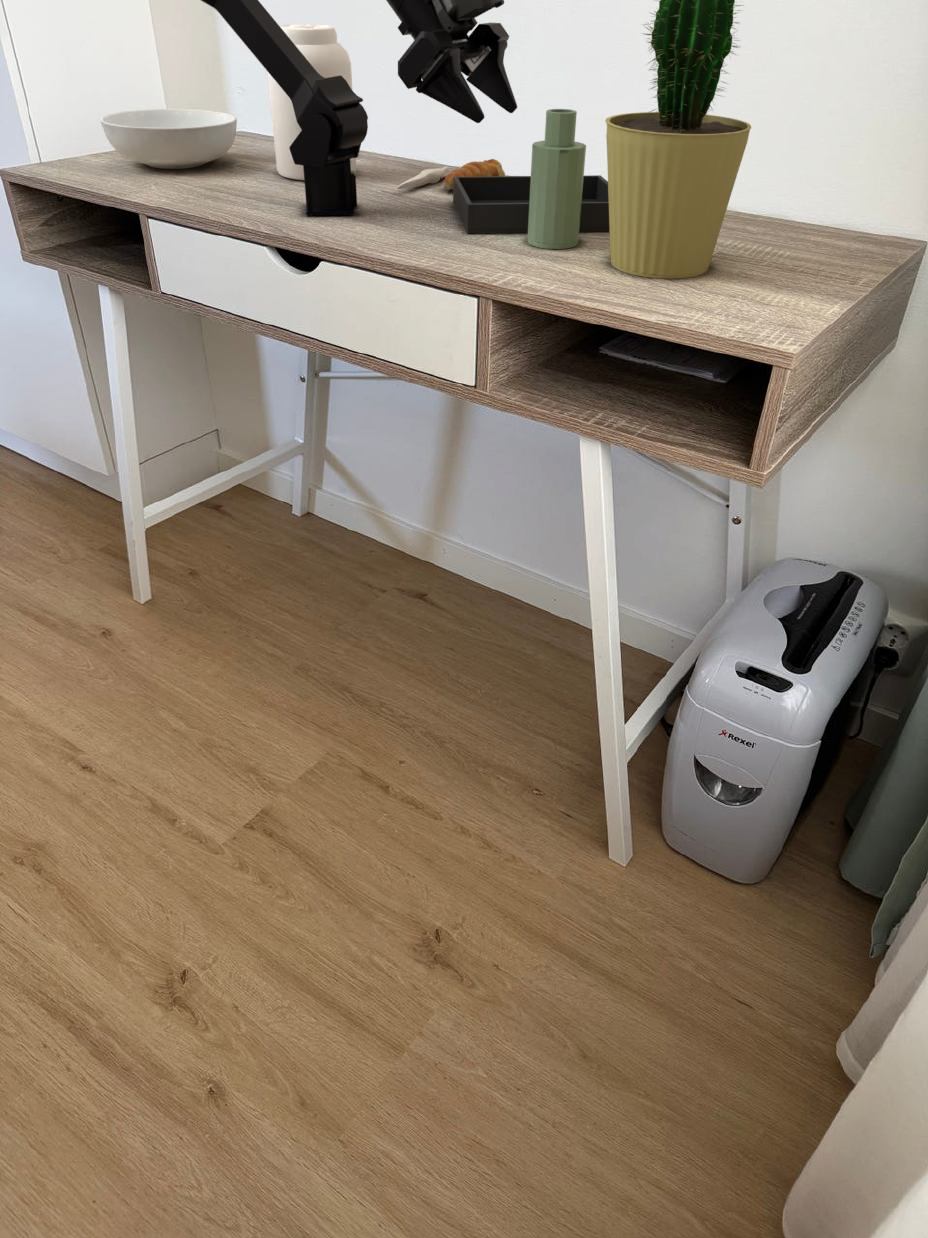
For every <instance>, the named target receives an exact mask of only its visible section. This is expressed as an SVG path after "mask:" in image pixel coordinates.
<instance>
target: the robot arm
mask: <svg viewBox="0 0 928 1238" xmlns="http://www.w3.org/2000/svg"><path fill="white" fill-rule="evenodd" d="M200 1H201V2H202V3H204V4H206V5H208V6H209V7H212V9H214V10H216V12H217V13H218V14H219V15H220V16H221V18H222V19H223V20H224V21H225V22H226V24H228V26H229V27H230V28H231V29H232V30H233V32H234V33H235V35H236V36H237V37H238V38H239V39H240V40H241V42H242V43H243V44H244V45H245V46H246V48H247V50H249V52H251V53H252V55H253V56H254V57H255V58H256V60H258V62H259V63H260V64H261V65H262V67H263V68H264V70H266V72H267V74H268V73H269V74H270V75H271V76H272V77H273V79H274V80H275V81H276V82H277V83H278V85H279V86H280V87H281V88H282V89H283V91H284V92H285V93H286V94H287V95H288V97H289V98H290V100H291V101H292V104H293V108H294V112H295V116H296V120H297V123H298V125H299V126H300V128H301V130H302V131H301V132H300V133H299V135H298V136H297V137H296V139H295V140H294V141H293V143H292V144H291V145H290V148H289V149H290V152H291V155H292V158H293V161H294V163H295V164H296V165H303V170H304V182H303V183H304V194H305V195H304V196H305V215H306V216H326V215H327V216H337V215H340V216H341V215H344V216H345V215H349V216H350V215H354V214H355V209H356V208H357V207H358V196H357V195H358V194H357V193H358V191H357V175H356V171H351V163H350V159H351V158H356V159H357V158H358V157H359V156H360V155H359V154H360V150H361V145H362V143H363V142H364V141H365V139H366V137H367V135H368V130H369V124H368V119H369V116H368V114H367V110H366V109H365V108H364V106H363V104H361V103H362V102H364V99H363V97H360V96H359V95H357V94H356V93H355V92H354V91H353V88H352V89H351V88H350V86H349V84H348V83H347V81H346V80H345V79H344V78H343V77H342V76H341V75H340V76H334V77H328V78H324V77H322V76H321V75H320V74H319V73H318V72H317V71H316V70H315V69H314V67H313V66H312V65H311V64H310V63H309V61H308V60H307V59H306V58H305V57H304V55H303V54H302V53H301V52H300V50H299V49H298V48H297V47H296V46H295V44H294V43H293V42H292V41H291V40H290V38H289V37H288V36H287V35H286V33H285V32H284V31H283V30H282V29H281V26H280V25H279V23H278V22H277V21H276V20H275V18H273V16H272V15H271V14H270V13H269V11H267V9H266V8H265V6H263V4H262V2H260V0H200ZM385 1H386V2H387V4H388V5H389V7H390V8H391V9H392V11H393V12H394V13H395V15H396V16H397V18H398V19H399V21H400V22H401V23H400V24H399V25H398V26H397V30H398V31H399V32H400V34H401V35H402V36H408V35H409V36H411V38H412V39H413V41H412V42H411V44H410V46H408V48H407V49H406V50H405V52H404V53H403V54H402V56H401V57H400V58H399V59H398V60H397V76H398V78H399V79H400V80H401V82H402V83H403V84H404V86H405V87H406V88H407V90H411V89H415V91H416V92H417V93H418V94H422V95H425V96H426V97H429V98H431V99H433V100H434V101H436V102H439V103H441V104H442V105H444V106H445V107H448V108H449V109H451V110H453V111H454V112H457V113H458V114H460V115H462V116H464V117H465V118H467V119H469V120H471V121H472V122H474V123H476V124H481V122H482V121H483V120H484V119H485V114H484V112H483V110H482V109H483V108H482V107H481V105H480V103H479V101H478V100H477V98H476V96H475V94H474V93H473V90H472V88H471V87H470V85H469V84H471V85H472V86H473V87H475V88H476V89H477V90H478V91H480V92H481V93H483V95H485V96H486V97H487V98H489V99H490V100H491V101H493V102H494V103H495V104H496V105H498V106H499V107H501V108H502V109H503V110H505V111H506V112H508V113H509V114H513V113H514V112H515V111H516V110H517V109H518V103H517V100H516V97H515V95H514V92H513V90H512V86H511V84H510V81H509V78H508V74H507V72H506V68H505V64H504V58H505V52H506V50H507V48H508V40H509V39H510V35H509V34H508V32H507V30H506V29H505V27H504V25H502V23H501V22H483V23H478V21H477V19H476V18H477V17H479V16H481V15H484V14H485V13H487V12H489V11H490V10H492V9H494V8H496V9H498V8H500V7H501V6H503V5H504V4H505V0H385ZM471 31H472V32H471ZM470 32H471V33H470ZM469 33H470V34H469ZM464 75H465V76H466V77H467V78H465V76H464Z"/></svg>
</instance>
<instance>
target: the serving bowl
mask: <svg viewBox="0 0 928 1238" xmlns="http://www.w3.org/2000/svg"><path fill="white" fill-rule="evenodd" d="M237 121H238V120H237V118H236V116H234V115H232V114H229V113H226V112H222V111H216V110H205V109H191V108H151V109H148V108H147V109H136V110H126V111H119V112H115V113H111V114H106V115H104V116H102V117H100V124H101V127H102V130H103V132H104V135H105V138H106V139H107V141H108V143H109V144H110V145H111V147H112V148H113V149H114V150H115V151H116V152H117V153H118V154H120V155H121V156H123V157H124V158H126V159H128V160H130V161H133V162H136V163H140V164H143V165H147V166H149V167H151V168H154V169H162V170H163V169H164V170H182V169H183V170H184V169H192V168H197V167H201V166H203V165H204V164H207V163H210V162H212V161H215V160H217V159H219V158H221V157H223V156H224V155H225V154H227V152H229V150H230V149H231V147H232V146H233V144H234V141H235V138H236V134H237V124H238V123H237Z"/></svg>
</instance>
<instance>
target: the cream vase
mask: <svg viewBox="0 0 928 1238" xmlns="http://www.w3.org/2000/svg"><path fill="white" fill-rule="evenodd" d="M280 27H281V29H282V30H283V31H284V32H285V33H286V35H287V36H288V37H289V38H290V40H291V41H292V42H293V43H294V44H295V46H296V47H297V48H298V49H299V50H300V52H301V53H302V54H303V55H304V57H305V58H306V59H307V60H308V61H309V63H310V64H311V65H312V66H313V67H314V69H315V70H316V71H317V72H318V73H319V74H320V75H321V76H322V77H324V78H328V77H334V76H340V75H341V76H342V77H343V78H344V79H345V80H346V81H347V83H348V84H349V86H350V88H351V89H352V90H353V76H352V62H351V59H350V54H349V52H348V50H346V48H345V47H344V46H343V45H342V44H341V43H340V42H338V33H337V31H336V28H335V27H334V26H332V25H329V24H328V25H327V24H314V23H313V24H312V23H311V24H306V23H303V24H301V23H297V24H284V25H281V26H280ZM267 80H268V91H269V101H270V102H269V103H270V111H271V123H272V133H273V143H274V154H275V163H276V164H275V165H276V170H277V173H278V174H279V175H280V176H281V177H284V178H287V179H290V180H295V181H302V182H303V181H304V170H303V165H296V164H295V163H294V161H293V158H292V155H291V152H290V149H289V148H290V145H291V144H292V143H293V141H294V140H295V139H296V137H297V136H298V135H299V133H300V132H301V131H302V130H301V128H300V126H299V125H298V123H297V120H296V116H295V112H294V108H293V104H292V101H291V100H290V98H289V97H288V95H287V94H286V93H285V92H284V91H283V89H282V88H281V87H280V86H279V85H278V83H277V82H276V81H275V80H274V79H273V77H272V76H271V75H270V74H269V73H268V72H267ZM350 163H351V171H355V172H356V170H357V158H351V159H350Z"/></svg>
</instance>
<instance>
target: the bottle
mask: <svg viewBox="0 0 928 1238" xmlns="http://www.w3.org/2000/svg"><path fill="white" fill-rule="evenodd" d="M577 115H578V112H577V111H576V110H575V109H568V108H551V109H549V108H548V109H546V111H545V126H544V127H545V128H544V140H538V141H534V142H533V143H532V144H531V162H530V164H531V165H530V166H531V167H530V176H531V181H530V201H529V220H528V233H527V243H528V245H530V246H532V247H536V248H539V249H546V250H563V249H564V250H566V249H571V248H574V247H577V246H578V244H579V238H580V232H579V226H580V214H581V202H582V190H583V178H584V176H585V165H586V155H587V154H586V153H587V145H586V144H585V143H583V142H579V141H576V129H577V128H576V127H577Z"/></svg>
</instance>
